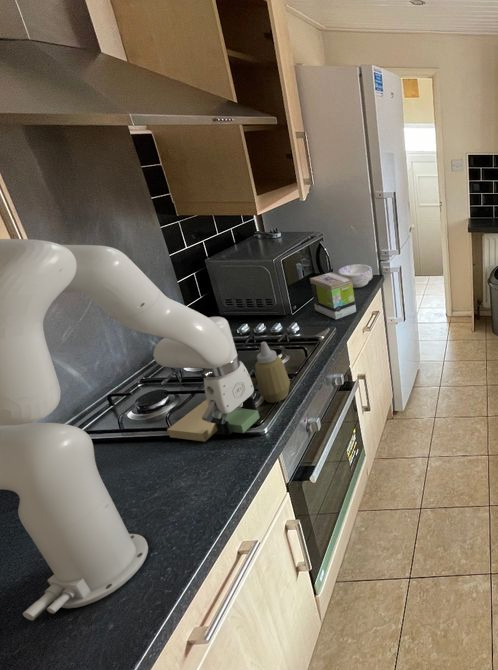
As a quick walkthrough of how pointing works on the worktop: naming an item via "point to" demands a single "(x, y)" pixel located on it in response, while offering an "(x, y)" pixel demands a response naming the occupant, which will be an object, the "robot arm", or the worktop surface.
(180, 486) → the worktop surface
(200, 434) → the beige pad
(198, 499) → the worktop surface
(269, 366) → the squeeze bottle
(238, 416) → the green pad
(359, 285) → the paper bowls
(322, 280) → the tea box
